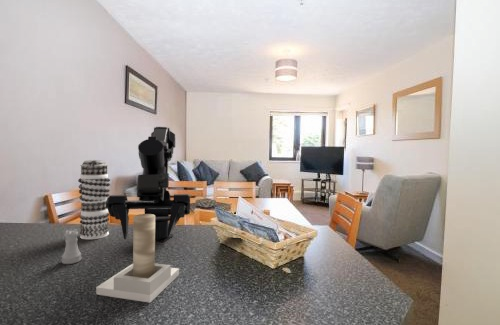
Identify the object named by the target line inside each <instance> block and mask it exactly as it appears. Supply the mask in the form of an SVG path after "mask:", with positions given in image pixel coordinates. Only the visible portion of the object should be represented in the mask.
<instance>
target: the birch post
mask: <svg viewBox="0 0 500 325" xmlns="http://www.w3.org/2000/svg"><path fill="white" fill-rule="evenodd" d="M132 224H133V226H132V227H133V228H132V229H133V230H132V231H133V234H132V235H133V236H132V237H133V240H132V243H133V244H132V249H133V250H132V264H133V277H139V278H147V279H148V278H150V277H151V276H152V275H153V274H155V263H156V260H155V259H156V255H155V254H156V253H155V252H156V241H155V215H153V214H145V213H141V214H136V215H134V216H133V222H132Z"/></svg>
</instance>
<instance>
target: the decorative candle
mask: <svg viewBox="0 0 500 325" xmlns="http://www.w3.org/2000/svg"><path fill="white" fill-rule="evenodd" d="M80 172H81V173H80V178H79V179H78V180H77V181H78V183H80V184H79V185H78V188H79V190H78V193H79V194H80V196H78V198H79V202H80V203H81V207H80V208H81V210H80V215H79V219H80V221H79V223H80V226H79V229H80V231H79V234H80V236H79V238H81V239H82V240H97V239H103V238H105V237H108V236H109V234H110V233H109V231H110V227H109V226H110V223H109V222H108V221H110V218H109V216H110V214H109V212H108V209H107V206H106V201H107V198H108V197H109V196H111V195H110V194H109V192H110V191H111V190H110V188H109V189H108V187H110V186H111V183H109V182H110V181H111V179H110V178H109V173H108V164H107V163H106V162H105V160H99V159H96V160H95V159H93V160H92V159H89V160H88V159H87V160H84V161H83V162H82V164H80Z"/></svg>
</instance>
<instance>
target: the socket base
mask: <svg viewBox="0 0 500 325" xmlns="http://www.w3.org/2000/svg"><path fill="white" fill-rule="evenodd" d="M179 275H180V268H179V267H178V268H177V267H172V264H164V263H157V262H155V274H153V275H152V276H151V277H150V278H148V279H147V278H139V277H133V263H131V264H130V265H128V266H127V267H126V268H123V269H122V270H121V271H119V272H118V273H115V274H114V275H113V276H112V277H109V278H108V279H107V280H105V281H103V282H102V283H100V284H99V285H98V286H96V287H95V288H96V290H95V291H96V292H95V294H96V295H99V296H103V297H111V298H117V299H124V300H130V301H137V302H143V303H152V302H153V301H154V300H155V299H156V298H157V297H158V296H159V295H160V294H161V293H162V292H164V290H165V289H166V288H167V287H168V286H170V284H171V283H172V282H173V281H174V280H175V279H177V277H179Z"/></svg>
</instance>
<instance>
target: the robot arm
mask: <svg viewBox="0 0 500 325" xmlns="http://www.w3.org/2000/svg"><path fill="white" fill-rule="evenodd" d="M137 147H138V148H137V149H138V157H139V161H140V166H141V168H142V174H138V175H137V181H136V182H137V183H136V190H137V191H136V196H137V198H138V200H136V199H135V200H131V199H130V200H128V197H127V196H128V195H127V194H112V195H110V196H108V197H107V201H106V206H107V209H108V213H109V216H110V217H112V218H114V219H115V220H118V221H120V225H121V226H120V227H121V231H122V237H123V239H124V240H127V238H128V235H129V234H128V233H129V220H130V217H129V214H130V213H129V212H130V210H144V214H153V215H155V242H160V243H164V242H166V241H167V240H170V238H172V237H174V235H173V231H174V228H176V225H177V223H178V222H179V220H180V219H181V218H185V216H188V215H189V214H190V213H191V196H190V195H189V193H181V194H180V193H179V194H178V193H177V194H175V193H174V194H173V199H171V194H170V191H169V190H168V189H169V187H170V186H169V185H170V173H169V162H170V161H171V160H172V158H173V154H174V149H175V148H176V134H175V133H174V132H172V131H171V130H170V127H168V126H156V127H155V126H154V127H153V131H152V132H151V134H150V136H148V138H146V139H145V140H143V141H141V142H140V143H139V144H138V146H137Z"/></svg>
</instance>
